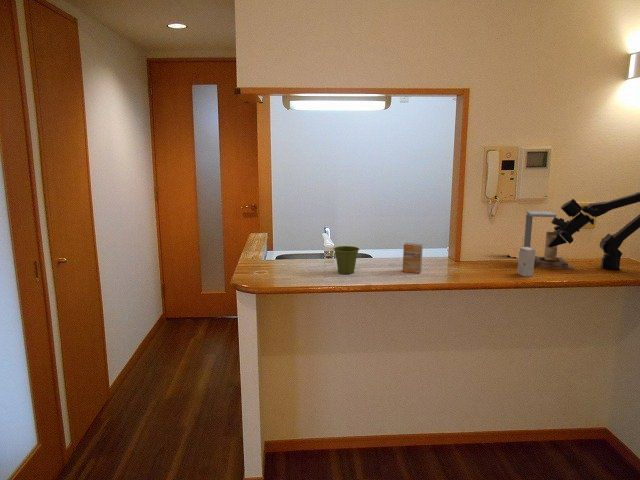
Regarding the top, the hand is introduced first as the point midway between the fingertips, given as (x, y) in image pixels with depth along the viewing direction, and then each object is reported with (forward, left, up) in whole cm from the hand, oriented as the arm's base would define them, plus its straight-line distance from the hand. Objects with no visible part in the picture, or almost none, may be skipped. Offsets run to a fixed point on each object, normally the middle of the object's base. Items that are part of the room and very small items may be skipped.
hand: (548, 245), depth 218 cm
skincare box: (+13, +23, -9) cm, 28 cm away
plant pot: (+91, +39, -10) cm, 99 cm away
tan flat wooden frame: (-1, 0, -9) cm, 9 cm away
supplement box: (+62, +30, -10) cm, 69 cm away
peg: (-1, 0, -7) cm, 7 cm away
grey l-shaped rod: (+5, 0, -9) cm, 10 cm away
